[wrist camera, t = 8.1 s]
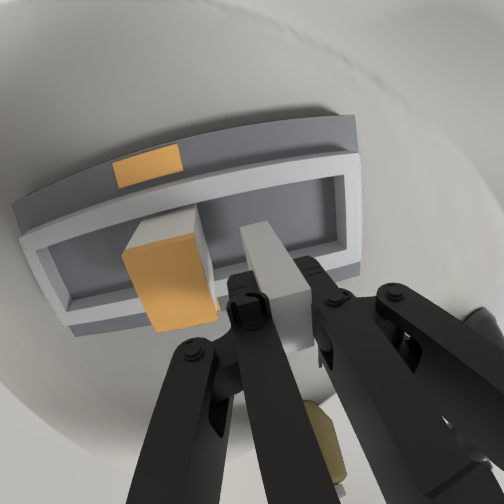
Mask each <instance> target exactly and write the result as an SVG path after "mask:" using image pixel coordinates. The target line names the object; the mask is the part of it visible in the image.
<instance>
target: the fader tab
mask: <svg viewBox="0 0 504 504" xmlns="http://www.w3.org/2000/svg"><path fill="white" fill-rule="evenodd" d="M121 256H122V259H123V261H124V264H125V266H126V269H127V271H128V274H129V276H130V278H131V281H132V283H133V285H134V287H135V290H136V292H137V294H138V296H139V299H140V301H141V303H142V305H143V307H144V309H145V311H146V313H147V316H148V318H149V320H150V322H151V324H152V326H153V328H154V330H155V332H156V333H159V332H165V331H170V330H176V329H181V328H186V327H191V326H196V325H201V324H206V323H211V322H215V321H218V316H217V306H216V296H215V286H214V275H213V266H212V262H211V258H210V255H209V251H208V247H207V243H206V240H205V236H204V232H203V228H202V224H201V220H200V216H199V212H198V208H197V204H196V203H193V204H189V205H185V206H181V207H177V208H173V209H169V210H165V211H161V212H158V213H154V214H150V215H146V216H144V218H143V219H142V221H141V222H140V224H139V226H138V227H137V229H136V231H135V233H134V234H133V236H132V238H131V239H130V241H129V243H128V245H127V246H126V248H125V250H124V252H123V254H122V255H121Z"/></svg>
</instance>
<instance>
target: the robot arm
mask: <svg viewBox="0 0 504 504" xmlns="http://www.w3.org/2000/svg"><path fill="white" fill-rule="evenodd" d="M240 232H241V236H242V241H243V246H244V250H245V255H246V259H247V264H248V268H249V271H246V272H242V273H238V274H233V275H230V277H229V279H228V281H227V289H228V295H229V301H228V302H227V306H226V310H227V313H228V316H229V319H230V322H231V325H232V326H231V328H230V330H229V331H228V332H227V333H226V334H225V335H224V336H222V337H220V338H219V339H217V340H215V341H212V342H211V341H209V340H207V339H206V338H200V337H197V338H191V339H188V340H186V341H184V342H182V343H181V344H180V345H179V346H178V347H177V348H176V350H175V352H174V354H173V357H172V359H171V362H170V365H169V368H168V371H167V374H166V376H165V379H164V382H163V385H162V388H161V391H160V394H159V397H158V400H157V403H156V406H155V409H154V412H153V415H152V418H151V421H150V424H149V427H148V430H147V433H146V436H145V439H144V443H143V446H142V449H141V452H140V456H139V459H138V462H137V466H136V469H135V472H134V476H133V479H132V483H131V486H130V490H129V493H128V497H127V501H126V504H219V501H220V493H221V486H222V479H223V472H224V465H225V458H226V451H227V443H228V436H229V429H230V422H231V415H232V407H233V400H234V395H235V394H237V393H239V392H241V391H243V390H244V395H245V400H246V406H247V411H248V416H249V420H250V425H251V430H252V435H253V440H254V444H255V449H256V454H257V458H258V462H259V467H260V471H261V476H262V480H263V484H264V489H265V493H266V497H267V501H268V504H341V503H340V500H339V498H338V495H337V492H336V489H335V487H334V484H333V481H332V479H331V476H330V473H329V471H328V468H327V465H326V463H325V460H324V457H323V454H322V452H321V449H320V446H319V444H318V441H317V438H316V436H315V433H314V430H313V427H312V425H311V422H310V419H309V417H308V414H307V411H306V408H305V406H304V403H303V400H302V397H301V395H300V392H299V389H298V387H297V384H296V381H295V378H294V376H293V373H292V370H291V367H290V365H289V362H288V359H287V357H286V354H287V353H291V352H295V351H298V350H301V349H305V348H308V347H311V346H314V337H315V339H316V341H317V343H318V361H319V368H321V367H322V363H323V365H324V367H325V369H326V371H327V373H328V375H329V378H330V380H331V382H332V384H333V386H334V388H335V390H336V392H337V394H338V397H339V399H340V401H341V403H342V405H343V407H344V410H345V412H346V414H347V416H348V418H349V420H350V423H351V425H352V427H353V429H354V431H355V434H356V436H357V438H358V440H359V442H360V445H361V447H362V449H363V451H364V453H365V456H366V458H367V460H368V462H369V465H370V467H371V469H372V471H373V474H374V476H375V478H376V480H377V483H378V485H379V487H380V489H381V492H382V494H383V496H384V499H385V501H386V503H387V504H504V493H503V491H502V489H501V487H500V485H499V483H498V482H497V480H496V478H495V476H494V474H493V473H492V471H493V467H492V465H491V463H490V461H492V462H493V463H494V464H495V465H496V466H498V467H499V468H500V469H501V470H503V471H504V336H503V334H502V332H501V330H500V328H499V326H498V324H497V322H496V319H495V317H494V315H493V314H492V313H491V312H489V311H488V310H487V309H486V308H483V309H480V310H478V311H476V312H475V313H473V314H472V315H471V316H470V317H468V318H467V319H466V320H465V321H464V322H461V321H460V320H459V319H457V318H456V317H454V316H452V315H451V314H449V313H448V312H446V311H445V310H443V309H442V308H440V307H439V306H437V305H436V304H434V303H433V302H431V301H429V300H428V299H426V298H425V297H423V296H421V295H420V294H418V293H417V292H415V291H413V290H412V289H410V288H409V287H407V286H405V285H403V284H400V283H387V284H384V285H382V286H381V287H380V288H379V289H378V291H377V294H376V296H373V297H355V296H354V295H353V294H352V293H351V292H350V291H348V290H346V289H343V288H338V286H337V285H336V284H335V282H334V281H333V280H332V279H331V277H330V276H329V275H328V273H327V272H325V270H324V268H323V267H321V265H320V263H319V262H318V261H317V260H316V259H315V258H313V257H311V256H308V255H307V256H303V257H299V258H295V259H292V258H291V256H290V255H289V253H288V252H287V250H286V249H285V247H284V245H283V244H282V242H281V241H280V239H279V238H278V236H277V235H276V233H275V232H274V230H273V229H272V227H271V226H270V224H269V222H268V221H263V222H259V223H254V224H250V225H246V226H241V227H240ZM405 333H407V334H408V335H409V336H411V337H408V336H406V335H405ZM442 416H443V417H444V418H445V419H446V420H447V421H448V423H447V424H446V422H445V421H444V419H443V417H442Z"/></svg>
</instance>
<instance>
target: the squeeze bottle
mask: <svg viewBox="0 0 504 504" xmlns="http://www.w3.org/2000/svg"><path fill="white" fill-rule="evenodd" d="M303 403H304V406H305V408H306V411H307V414H308V417H309V419H310V422H311V425H312V427H313V430H314V433H315V436H316V438H317V441H318V444H319V446H320V449H321V452H322V454H323V457H324V460H325V463H326V465H327V468H328V471H329V473H330V476H331V479H332V481H333V484H334V487H335V489H336V492H337V495H338V498H341V497H343V496H345V495H346V492H345V490H344V487H343V485H342V484H339V483H341V482H342V481H343V480H344V479H345V477H346V476H347V472H346V469H345V465H344V461H343V458H342V454H341V450H340V447H339V443H338V440H337V436H336V433H335V429H334V426H333V422H332V420H331V419H330V418H329V417H328V416H327V415H326V414H325V413H324V412H323V410H322V409H321V408H320V407H319V406H318V405H317V404H316V403H314V402H310V401H303Z"/></svg>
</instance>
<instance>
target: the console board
mask: <svg viewBox="0 0 504 504" xmlns="http://www.w3.org/2000/svg"><path fill="white" fill-rule="evenodd" d="M193 203H196V204H197V208H198V212H199V216H200V220H201V224H202V228H203V232H204V236H205V240H206V243H207V247H208V251H209V255H210V258H211V262H212V266H213V275H214V286H215V296H216V306H217V312H218V311H222V310H226V306H227V302H228V301H229V295H228V289H227V281H228V279H229V277H230V275H233V274H238V273H242V272H246V271H249V268H248V264H247V259H246V255H245V250H244V246H243V241H242V236H241V232H240V227H241V226H246V225H250V224H254V223H259V222H263V221H268V222H269V224H270V226H271V227H272V229H273V230H274V232H275V233H276V235H277V236H278V238H279V239H280V241H281V242H282V244H283V245H284V247H285V249H286V250H287V252H288V253H289V255H290V256H291V258H292V259H295V258H299V257H303V256H307V255H308V256H311V257H313V258H315V259H316V260H317V261H318V262H319V263H320V265H321V267H323V268H324V270H325V272H327V273H328V275H329V276H330V277H331V279H332V280H333V281H334V282H337V281H341V280H344V279H348V278H351V277H355V276H358V275H360V261H362V183H361V164H360V153H358V142H357V132H356V123H355V115H332V116H317V117H305V118H295V119H286V120H278V121H270V122H263V123H256V124H250V125H244V126H238V127H233V128H227V129H222V130H217V131H212V132H208V133H203V134H199V135H194V136H190V137H186V138H182V139H178V140H174V141H170V142H167V143H163V144H159V145H156V146H152V147H149V148H146V149H142V150H139V151H136V152H133V153H130V154H127V155H124V156H121V157H118V158H115V159H112V160H109V161H106V162H104V163H101V164H98V165H95V166H93V167H90V168H88V169H85V170H83V171H80V172H78V173H75V174H73V175H71V176H68V177H66V178H64V179H61V180H59V181H57V182H55V183H52V184H50V185H48V186H46V187H44V188H42V189H40V190H38V191H36V192H34V193H32V194H30V195H28V196H26V197H24V198H22V199H20V200H18V201H17V202H15V203H13V204H12V207H13V210H14V213H15V216H16V219H17V221H18V224H19V227H20V230H21V232H22V236H21V237H20V238H18V240H19V243H20V245H21V248H22V250H23V252H24V255H25V257H26V259H27V261H28V264H29V266H30V268H31V270H32V272H33V274H34V276H35V278H36V280H37V282H38V284H39V286H40V288H41V290H42V292H43V294H44V295H45V297H46V299H47V301H48V303H49V304H50V306H51V308H52V310H53V311H54V313H55V315H56V316H57V318H58V320H59V321H60V323H61V324H62V326H69V328H70V329H71V331H72V332H73V334H74V335H75V337H77V336H85V335H92V334H99V333H105V332H112V331H118V330H124V329H130V328H136V327H142V326H147V325H152V324H151V322H150V320H149V318H148V316H147V313H146V311H145V309H144V307H143V305H142V303H141V301H140V299H139V296H138V294H137V292H136V290H135V287H134V285H133V283H132V281H131V278H130V276H129V274H128V271H127V269H126V266H125V264H124V261H123V259H122V256H121V255H122V254H123V252H124V250H125V248H126V246H127V245H128V243H129V241H130V239H131V238H132V236H133V234H134V233H135V231H136V229H137V227H138V226H139V224H140V222H141V221H142V219H143V218H144V216H146V215H150V214H154V213H158V212H161V211H165V210H169V209H173V208H177V207H181V206H185V205H189V204H193Z"/></svg>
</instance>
